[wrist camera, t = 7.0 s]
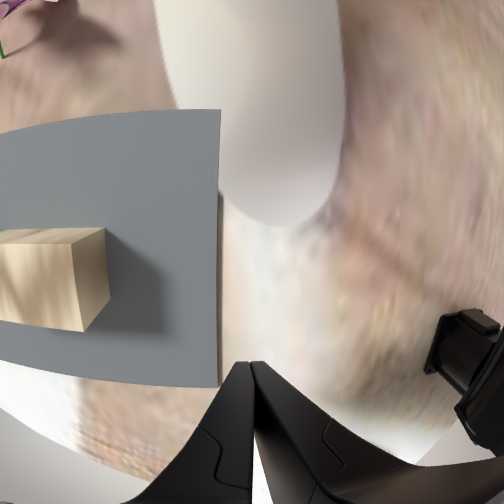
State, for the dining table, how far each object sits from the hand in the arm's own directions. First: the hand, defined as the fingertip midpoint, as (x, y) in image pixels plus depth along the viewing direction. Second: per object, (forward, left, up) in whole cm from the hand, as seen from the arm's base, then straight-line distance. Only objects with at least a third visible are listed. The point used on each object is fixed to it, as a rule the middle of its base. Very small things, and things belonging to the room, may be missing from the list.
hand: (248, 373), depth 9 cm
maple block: (0, +8, -9) cm, 12 cm away
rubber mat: (0, +12, -12) cm, 17 cm away
